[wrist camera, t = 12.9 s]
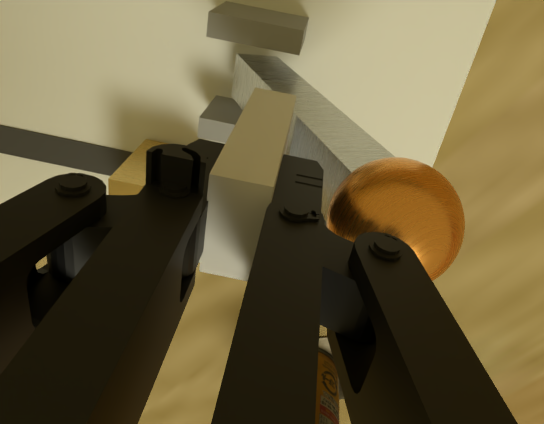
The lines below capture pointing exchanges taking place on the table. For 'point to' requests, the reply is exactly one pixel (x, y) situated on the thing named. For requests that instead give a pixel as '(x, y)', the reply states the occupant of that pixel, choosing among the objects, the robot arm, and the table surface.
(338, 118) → the toggle lever
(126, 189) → the brass slider
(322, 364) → the condiment
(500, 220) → the table surface
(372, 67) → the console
